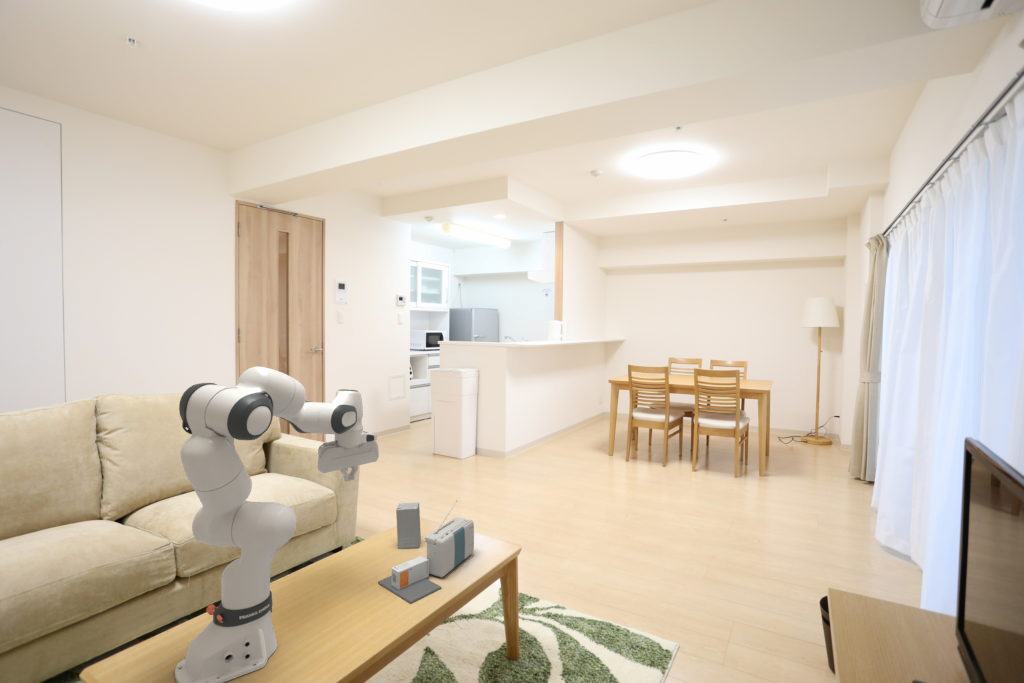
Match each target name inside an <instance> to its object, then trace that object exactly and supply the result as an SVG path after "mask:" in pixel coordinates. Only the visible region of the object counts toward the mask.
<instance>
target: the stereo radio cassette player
mask: <svg viewBox="0 0 1024 683" xmlns="http://www.w3.org/2000/svg"><path fill="white" fill-rule="evenodd" d="M457 502H458V500H456V501H455V503H454V504H453V506H452V507H451V508H450V510H449V511H448V513H447V514H446V516H444V518H443V520H442V522H441V524H440V525H439V526H438V527H437V529H435V530H433V531H432V532H430V533H429V534H427V535H425V538H424V541H425V543H426V558H427V559H428V560H429V575H432V576H436V577H438V578H441V579H442V578H444V577H445V576H446V575H447V574H449V573H450V572H451V571H452V570H453V569H455V568H456V567H457V566H458V565H460V564H461V563H462V562H463V561H465V559H467V558H469V556H471V555H472V554H473V553H474V549H475V526H474V525H475V524H474V521H473V520H471V519H467V518H463V517H454V518H452V519H451V520H449V521H447V522H446V523H445V521H446V520H447V518H448V516H449V515H450V514H451V511H452V510H453V508H454V507H455V506H456V503H457Z"/></svg>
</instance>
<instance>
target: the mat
mask: <svg viewBox="0 0 1024 683" xmlns="http://www.w3.org/2000/svg"><path fill="white" fill-rule="evenodd" d="M377 584H378V585H380V586H381V587H383V588H384V589H386V590H388V591H389V592H391V593H392V594H394V595H395V596H397V597H399V598H401V599H403V600H404V601H406V602H407V603H408V604H410V605H411V604H413V603H416V602H417V601H419V600H422V599H423V598H426V597H427V596H429V595H432V594H434V593H436V592H437V591H439V590H442V586H441V585H439V584H437V583H435V582H434V581H431V580H430V579H428V578H424V579H422V580H420V581H418V582H415V583H413V584H411V585H408V586H406V587H404V588H402V589H399V590H398V589H396V588H395V587H393V586H392V575H389V576H387V577H386V578H382V579H381V580H378V581H377Z"/></svg>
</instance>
